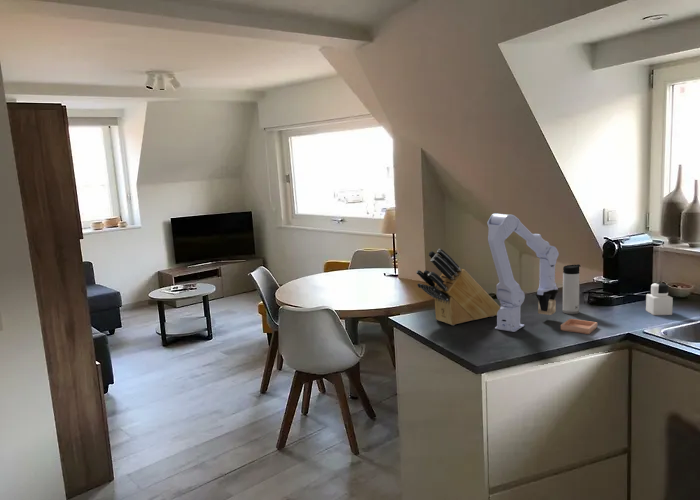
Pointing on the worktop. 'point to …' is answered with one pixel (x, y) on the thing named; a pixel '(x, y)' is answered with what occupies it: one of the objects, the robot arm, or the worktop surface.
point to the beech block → (550, 309)
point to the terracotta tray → (579, 326)
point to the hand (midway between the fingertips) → (546, 309)
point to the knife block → (456, 292)
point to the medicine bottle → (659, 300)
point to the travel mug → (571, 289)
